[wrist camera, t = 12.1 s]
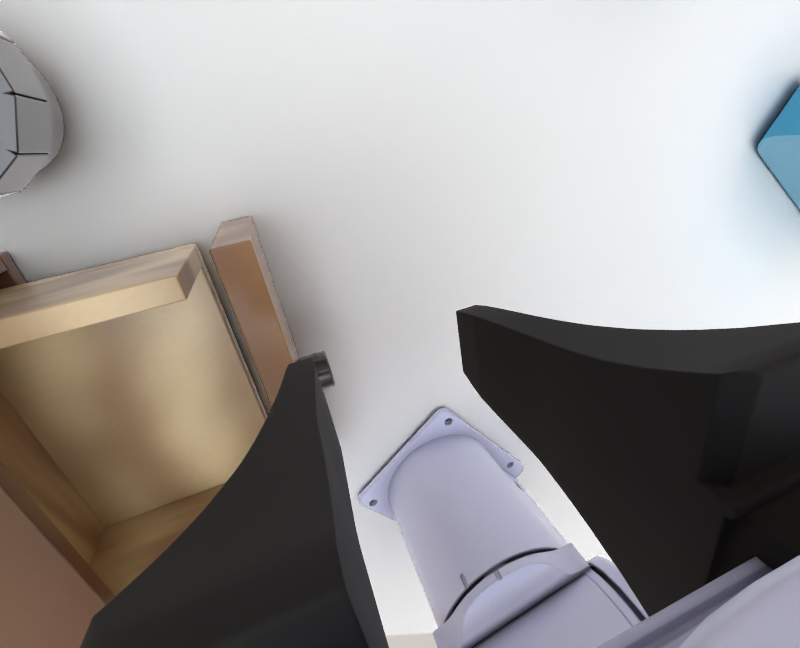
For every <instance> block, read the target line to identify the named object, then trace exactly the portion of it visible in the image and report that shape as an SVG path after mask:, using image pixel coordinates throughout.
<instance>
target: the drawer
mask: <svg viewBox="0 0 800 648" xmlns="http://www.w3.org/2000/svg"><path fill="white" fill-rule="evenodd" d="M210 254H211V256H212V259H213V261H214V264H215V266H216V269H217V271H218V274H219V276H220V279H221V281H222V284H223V286H224V289H225V291H226V294H227V296H228V299H229V301H230V304H231V306H232V309H233V311H234V314H235V316H236V319H237V321H238V324H239V326H240V329H241V331H242V334H243V336H244V339H245V341H246V344H247V346H248V349H249V351H250V354H251V356H252V359H253V361H254V364H255V366H256V369H257V371H258V374H259V376H260V379H261V381H262V384H263V386H264V389H265V391H266V394H267V396H268V399H269V401H270V404H271V406H272V405H273V403H274V401H275V398H276V396H277V394H278V391H279V388H280V386H281V383H282V380H283V377H284V374H285V370H286V368H287V366H288V365H289V364H291V363H294V362H297V361H301V360H304V359H307V358H310V357H312V358H313V361H314V364H315V367H316V371H317V374H318V377H319V380H320V383H321V386H322V389H323V390H325V389H328V388H331V387H334V386H335V382H334V378H333V375H332V372H331V369H330V365H329V362H328V359H327V356H326V353H325V352H324V351H321V352H318V353H315V354H311V355H308V356H305V357H302V358H299V356H298V353H297V350H296V347H295V345H294V342H293V339H292V336H291V333H290V330H289V327H288V324H287V321H286V318H285V315H284V312H283V309H282V306H281V303H280V300H279V297H278V294H277V291H276V288H275V285H274V282H273V279H272V276H271V273H270V271H269V268H268V265H267V262H266V259H265V256H264V253H263V250H262V247H261V244H260V241H259V238H258V235H257V232H256V229H255V226H254V223H253V220H252V217H251V216H247V217H243V218H239V219H234V220H230V221H226V222H222V223H221V225H220V227H219V229H218V232H217V234H216V236H215V239H214V241H213V243H212V246H211V248H210ZM266 418H267V414H266V411H265V409H264V406H263V404H262V401H261V399H260V397H259V394H258V392H257V389H256V387H255V384H254V382H253V380H252V377H251V375H250V372H249V370H248V367H247V365H246V363H245V360H244V358H243V355H242V353H241V350H240V348H239V346H238V343H237V341H236V338H235V336H234V333H233V331H232V329H231V326H230V324H229V321H228V319H227V316H226V314H225V312H224V309H223V307H222V304H221V302H220V299H219V297H218V295H217V292H216V290H215V287H214V285H213V283H212V280H211V278H210V275H209V273H208V270H207V268H206V266H205V263H204V261H203V258H202V256H201V253H200V251H199V249H198V246H197V244H196V243H193V244H189V245H184V246H180V247H176V248H172V249H168V250H163V251H159V252H155V253H151V254H146V255H142V256H138V257H134V258H130V259H125V260H121V261H117V262H113V263H108V264H104V265H100V266H96V267H92V268H87V269H83V270H79V271H75V272H70V273H66V274H62V275H58V276H54V277H49V278H45V279H41V280H37V281H32V282H28V283H24V284H20V285H16V286H11V287H7V288H3V289H0V462H1V463H2V464H3V465H4V467H5V468H6V469H7V470H8V471H9V472H10V474H11V475H12V476H13V477H14V478H15V479H16V481H17V482H18V483H19V484H20V485H21V486H22V488H23V489H24V490H25V491H26V492H27V493H28V495H29V496H30V497H31V498H32V499H33V500H34V502H35V503H36V504H37V505H38V506H39V507H40V509H41V510H42V511H43V512H44V513H45V514H46V516H47V517H48V518H49V519H50V520H51V521H52V523H53V524H54V525H55V526H56V527H57V528H58V530H59V531H60V532H61V533H62V534H63V535H64V537H65V538H66V539H67V540H68V541H69V543H70V544H71V545H72V546H73V547H74V548H75V550H76V551H77V552H78V553H79V554H80V555H81V557H82V558H83V559H84V560H85V561H86V562H87V564H88V565H89V566H90V567H91V568H92V569H93V571H94V572H95V573H96V574H97V575H98V576H99V578H100V579H101V580H102V581H103V582H104V583H105V585H106V586H107V587H108V588H109V589H110V590H111V592H112V593H113V594H114V595H115V596H117V595H118V594H119V593H120V592H121V591H122V590H123V589H124V588H125V587H127V586H128V585H129V584H130V583H131V582H132V581H133V580H134V579H135V578H136V577H137V576H139V575H140V574H141V573H142V572H143V571H144V570H145V569H146V568H147V567H148V566H149V565H151V564H152V563H153V562H154V561H155V560H156V559H157V558H158V557H159V556H160V555H161V554H162V553H163V552H164V551H165V550H166V549H167V548H168V547H169V546H170V545H171V544H172V543H173V542H174V541H175V540H176V539H177V538H178V537H179V536H180V535H181V534H182V533H183V532H184V531H185V530H186V529H187V527H188V526H189V525H190V524H191V523H192V522H193V521H194V520H195V519H196V518H197V516H198V515H199V514H200V513H201V512H202V511H203V510H204V509H205V508H206V506H207V505H208V504H209V503H210V502H211V500H212V499H213V498H214V497H215V495H216V494H217V493H218V492H219V490H220V489H221V488H222V487H223V485H224V484H225V483H226V482H227V480H228V479H229V478H230V477H231V475H232V474H233V473H234V472H235V470H236V469H237V467H238V466H239V465H240V463H241V462H242V460H243V459H244V457H245V456H246V454H247V452H248V451H249V449H250V448H251V446H252V444H253V443H254V441H255V439H256V437H257V435H258V434H259V432H260V430H261V428H262V426H263V424H264V422H265V420H266Z"/></svg>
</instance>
